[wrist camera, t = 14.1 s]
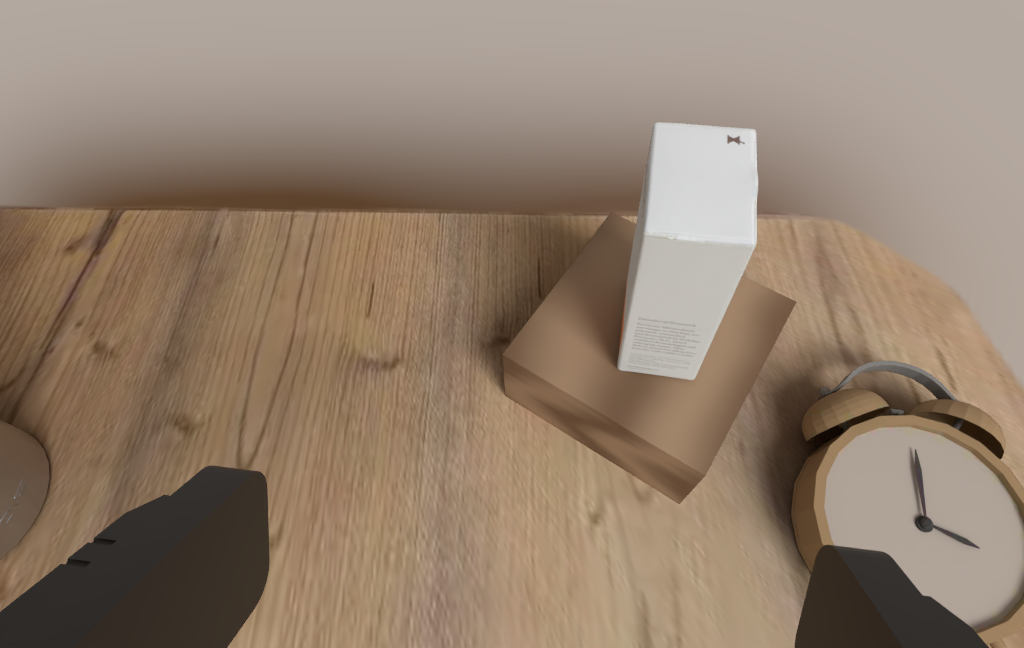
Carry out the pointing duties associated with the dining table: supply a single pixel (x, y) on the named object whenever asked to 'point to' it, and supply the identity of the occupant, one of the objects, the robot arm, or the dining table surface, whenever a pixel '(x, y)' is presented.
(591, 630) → the dining table surface
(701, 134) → the skincare box
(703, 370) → the walnut block
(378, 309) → the dining table surface
